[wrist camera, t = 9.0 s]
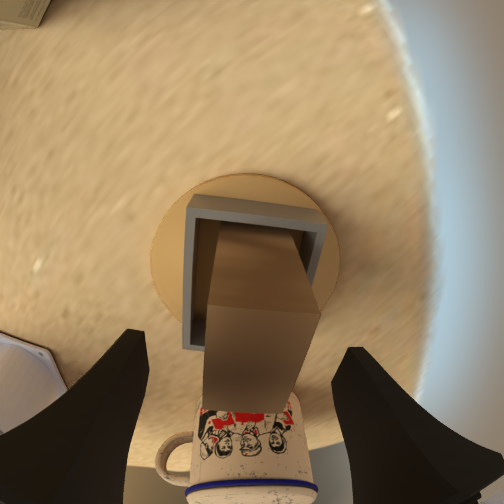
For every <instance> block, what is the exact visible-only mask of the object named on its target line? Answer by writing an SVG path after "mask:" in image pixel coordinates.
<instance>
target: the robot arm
mask: <svg viewBox="0 0 504 504" xmlns="http://www.w3.org/2000/svg"><path fill="white" fill-rule="evenodd" d="M148 375H149V363H148V356H147V349H146V341H145V333H144V331H139V330H133V329H127V330H125V331H124V332H123V334H122V335H121V336H120V337H119V338H118V339H117V340H116V342H115V343H114V344H113V345H112V346H111V347H110V348H109V349H108V350H107V352H106V353H105V354H104V355H103V356H102V357H101V358H100V359H99V360H98V361H97V362H96V363H95V364H94V365H93V366H92V368H91V369H90V370H89V371H88V372H87V373H86V374H85V375H83V376H82V377H81V378H80V379H79V380H78V381H77V382H76V383H75V384H74V385H73V386H72V387H71V388H70V389H69V390H67V388H66V386H65V384H64V381H63V379H62V377H61V375H60V373H59V371H58V369H57V366H56V364H55V362H54V360H53V357H52V355H51V353H50V352H49V351H48V350H47V349H44V348H41V347H38V346H35V345H32V344H29V343H26V342H23V341H21V340H18V339H15V338H13V337H10V336H7V335H5V334H2V333H0V504H123V492H124V481H125V472H126V465H127V458H128V452H129V448H130V443H131V440H132V436H133V433H134V429H135V426H136V423H137V419H138V416H139V413H140V409H141V406H142V403H143V399H144V396H145V392H146V386H147V381H148ZM331 385H332V393H333V400H334V406H335V410H336V413H337V417H338V421H339V424H340V428H341V431H342V435H343V438H344V442H345V446H346V449H347V453H348V458H349V463H350V470H351V478H352V489H353V504H478V501H477V500H478V499H480V498H481V493H480V491H481V490H482V489H484V488H485V487H487V486H488V485H490V484H491V483H493V482H494V481H496V480H497V479H498V478H500V477H501V476H503V475H504V459H503V457H502V455H501V454H500V453H498V452H495V451H492V450H490V449H487V448H485V447H482V446H480V445H478V444H476V443H474V442H472V441H470V440H468V439H466V438H464V437H463V436H461V435H459V434H458V433H456V432H454V431H453V430H451V429H450V428H448V427H447V426H445V425H444V424H442V423H441V422H440V421H438V420H437V419H436V418H434V417H433V416H432V415H431V414H429V413H428V412H427V411H426V410H425V409H424V408H422V407H421V406H420V405H419V404H418V403H417V402H416V401H415V400H414V399H413V398H412V397H410V396H409V395H408V394H407V393H406V392H405V391H404V390H403V389H402V388H401V387H400V386H399V385H398V384H397V382H396V381H395V380H394V379H393V378H392V377H391V376H390V375H389V374H388V373H387V372H386V371H385V370H384V369H383V368H382V366H381V365H380V364H379V363H378V362H377V361H376V360H375V359H374V358H373V357H372V356H371V355H370V354H369V353H368V352H367V351H366V350H365V349H364V348H363V347H348V349H347V351H346V353H345V355H344V358H343V360H342V362H341V364H340V366H339V368H338V370H337V372H336V374H335V376H334V378H333V379H332V381H331ZM479 504H504V496H503V493H502V491H501V490H499V491H497V492H496V493H494V494H493V495H491V496H489V497H488V498H486V499H485V500H483V501H482V502H480V503H479Z"/></svg>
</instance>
